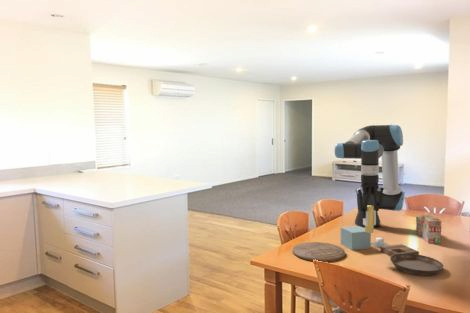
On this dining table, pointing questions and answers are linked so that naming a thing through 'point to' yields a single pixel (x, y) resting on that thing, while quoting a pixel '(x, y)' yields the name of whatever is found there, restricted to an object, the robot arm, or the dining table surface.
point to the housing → (355, 238)
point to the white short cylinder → (379, 243)
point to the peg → (370, 219)
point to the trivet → (318, 251)
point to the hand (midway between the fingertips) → (369, 224)
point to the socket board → (397, 250)
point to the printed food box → (429, 228)
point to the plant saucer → (416, 264)
